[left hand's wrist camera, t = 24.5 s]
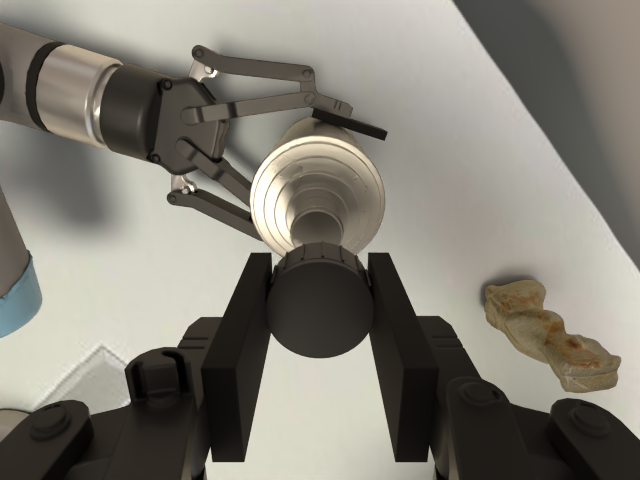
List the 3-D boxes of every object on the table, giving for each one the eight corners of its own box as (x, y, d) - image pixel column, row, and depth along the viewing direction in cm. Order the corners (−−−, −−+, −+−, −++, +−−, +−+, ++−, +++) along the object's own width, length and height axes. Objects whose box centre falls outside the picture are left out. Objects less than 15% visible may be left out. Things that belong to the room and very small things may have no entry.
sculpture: (533, 313, 48) (621, 404, 34) (474, 316, 48) (538, 408, 34) (540, 271, 46) (636, 349, 32) (479, 274, 46) (548, 353, 32)
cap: (331, 345, 16) (333, 377, 14) (251, 298, 15) (241, 325, 13) (389, 275, 15) (399, 300, 13) (306, 220, 14) (303, 239, 12)
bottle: (264, 168, 42) (200, 257, 19) (306, 99, 39) (289, 109, 17) (328, 209, 44) (339, 335, 21) (372, 145, 41) (438, 211, 19)
